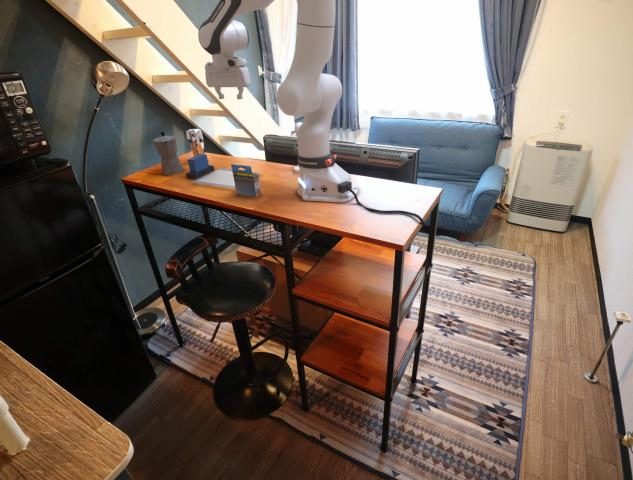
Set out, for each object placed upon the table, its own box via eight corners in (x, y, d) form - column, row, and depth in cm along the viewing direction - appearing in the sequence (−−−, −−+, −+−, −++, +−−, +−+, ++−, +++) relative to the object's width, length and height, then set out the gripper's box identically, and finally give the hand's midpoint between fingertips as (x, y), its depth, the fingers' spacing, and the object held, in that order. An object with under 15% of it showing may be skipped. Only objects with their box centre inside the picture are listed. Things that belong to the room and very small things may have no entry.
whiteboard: (261, 175, 146) (260, 173, 145) (235, 191, 132) (234, 188, 132) (220, 170, 155) (220, 168, 154) (192, 184, 141) (191, 182, 141)
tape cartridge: (262, 195, 127) (257, 162, 121) (256, 199, 124) (251, 166, 118) (242, 192, 131) (236, 160, 124) (236, 196, 128) (230, 164, 121)
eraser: (214, 171, 152) (211, 153, 148) (195, 180, 143) (191, 161, 139) (206, 169, 154) (202, 152, 150) (187, 179, 145) (182, 160, 141)
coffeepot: (186, 174, 153) (175, 132, 144) (164, 178, 149) (151, 136, 140) (181, 164, 165) (171, 126, 156) (160, 168, 161) (148, 129, 152)
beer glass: (197, 159, 171) (189, 128, 163) (210, 159, 170) (203, 128, 162) (190, 164, 165) (182, 132, 157) (204, 164, 164) (197, 132, 156)
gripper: (198, 62, 137) (206, 99, 144) (240, 61, 129) (246, 100, 136) (209, 61, 142) (216, 97, 149) (250, 60, 134) (255, 98, 141)
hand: (230, 99), depth 142 cm, fingers open, 8 cm apart
